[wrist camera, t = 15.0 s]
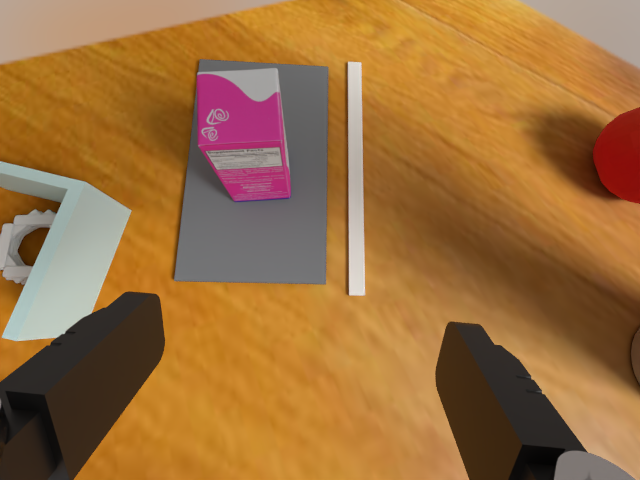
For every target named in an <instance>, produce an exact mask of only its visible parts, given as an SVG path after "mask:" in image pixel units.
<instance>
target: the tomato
mask: <svg viewBox="0 0 640 480" xmlns="http://www.w3.org/2000/svg"><path fill="white" fill-rule="evenodd" d="M593 161H594V164H595V167H596V169H597V172H598V175H599V177H600V180H601V183H602V184H603V185H604V186H605V187H606V188H607V189H608V190H609V191H610V192H611V193H613V194H615V195H616V196H618V197H620V198H622V199H624V200H627V201H630V202H634V203H639V204H640V107H639V108H636V109H634V110H631V111H628V112H626V113H623V114H620V115H619V116H618V117H616V118H615V119H614V120H612V121H611V122H610V123H609V124H607V126H606V127H605V128H604V129H603V131H602V132H601V134H600V135H599V137H598V139H597V140H596V143H595V146H594V149H593Z"/></svg>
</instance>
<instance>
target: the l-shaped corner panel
mask: <svg viewBox="0 0 640 480" xmlns="http://www.w3.org/2000/svg"><path fill="white" fill-rule="evenodd" d="M0 187H2V188H5V189H7V190H11V191H15V192H19V193H23V194H27V195H32V196H36V197H40V198H44V199H48V200H52V201H56V202H60V203H61V206H60V208H59V210H58V212H57V214H56V213H55V212H52V211H51V210H47V211H46V212H44V213H43V212H41V211H40V212H38V210H36V209H35V210H33V211H32V212H30V213H29V214H27V215H16V216H15V218H14V222H13V224H14V225H13V224H12V223H7V224H3V227H2V231H1V234H0V270H4V271H3V275H2V276H3V277H6V280H13V281H14V282H15V283H21V284H22V285H24V284H25V286H24V288H23V291H22V293H21V295H20V297H19V300H18V302H17V304H16V306H15V309H14V311H13V313H12V315H11V318H10V320H9V322H8V324H7V326H6V329H5V331H4V333H3V335H2V338H6V339H10V340H14V341H23V340H34V339H46V338H57V337H59V336H60V335H61V334H65V331H66V330H67V329H69V328H70V327H71V326H73V325H74V324H75V323H76V322H78V321H79V320H80V319H82V318H83V317H85V316H87V315H89V314H91V313H92V310H93V308H94V305H95V303H96V300H97V298H98V295H99V293H100V290H101V287H102V285H103V282H104V280H105V277H106V275H107V272H108V270H109V267H110V264H111V262H112V259H113V257H114V254H115V252H116V249H117V247H118V244H119V241H120V239H121V236H122V234H123V231H124V229H125V226H126V224H127V221H128V219H129V216H130V213H131V211H132V210H130V209H128V208H127V207H125V206H124V205H122V204H120V203H119V202H117V201H116V200H114V199H112V198H111V197H109V196H108V195H106V194H104V193H103V192H101V191H100V190H98V189H96V188H95V187H93V186H92V185H90V184H88V183H87V182H84V181H80V180H76V179H72V178H68V177H63V176H59V175H55V174H51V173H47V172H43V171H39V170H34V169H30V168H26V167H22V166H18V165H14V164H10V163H5V162H1V161H0ZM39 227H44V228H50V230H49V233H48V235H47V237H46V239H45V241H44V244H43V246H42V248H41V250H40V253H39V255H38V257H37V259H36V262H35V264H34V266H28V265H25V264H24V262H23V260H22V259H21V257H20V255H19V253H18V252H17V251H18V248H19V246H20V244H21V242H22V240H23V238H24V236H25V235H27V234H29V233H31V232H32V231H34V230H36V229H38V228H39Z"/></svg>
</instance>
